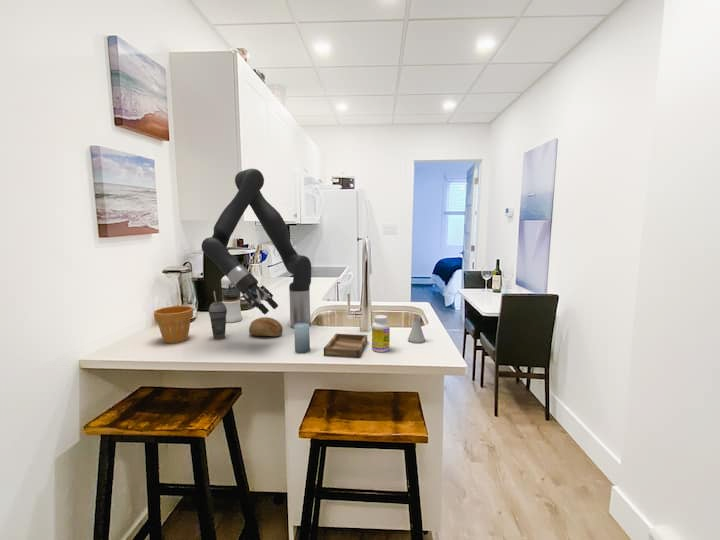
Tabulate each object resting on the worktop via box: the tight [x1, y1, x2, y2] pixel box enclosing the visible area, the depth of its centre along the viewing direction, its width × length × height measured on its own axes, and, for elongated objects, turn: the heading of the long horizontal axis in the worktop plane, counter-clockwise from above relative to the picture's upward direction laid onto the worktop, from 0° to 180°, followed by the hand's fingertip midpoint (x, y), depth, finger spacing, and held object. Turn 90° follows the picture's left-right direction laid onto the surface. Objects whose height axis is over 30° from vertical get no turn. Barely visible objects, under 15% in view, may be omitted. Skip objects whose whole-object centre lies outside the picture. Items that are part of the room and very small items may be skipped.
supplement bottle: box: [371, 314, 391, 353], centre depth 137 cm, size 7×7×13 cm
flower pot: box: [153, 305, 194, 344], centre depth 150 cm, size 14×14×13 cm
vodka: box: [220, 274, 243, 324], centre depth 178 cm, size 9×9×30 cm
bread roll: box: [248, 316, 284, 337], centre depth 155 cm, size 10×15×8 cm, turn 79°
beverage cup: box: [208, 290, 227, 340], centre depth 152 cm, size 7×7×20 cm
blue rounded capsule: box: [293, 323, 311, 354], centre depth 136 cm, size 6×6×10 cm
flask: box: [407, 315, 426, 344], centre depth 147 cm, size 7×7×10 cm
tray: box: [323, 333, 368, 359], centre depth 139 cm, size 18×13×3 cm
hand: (271, 310), depth 137 cm, fingers open, 8 cm apart
